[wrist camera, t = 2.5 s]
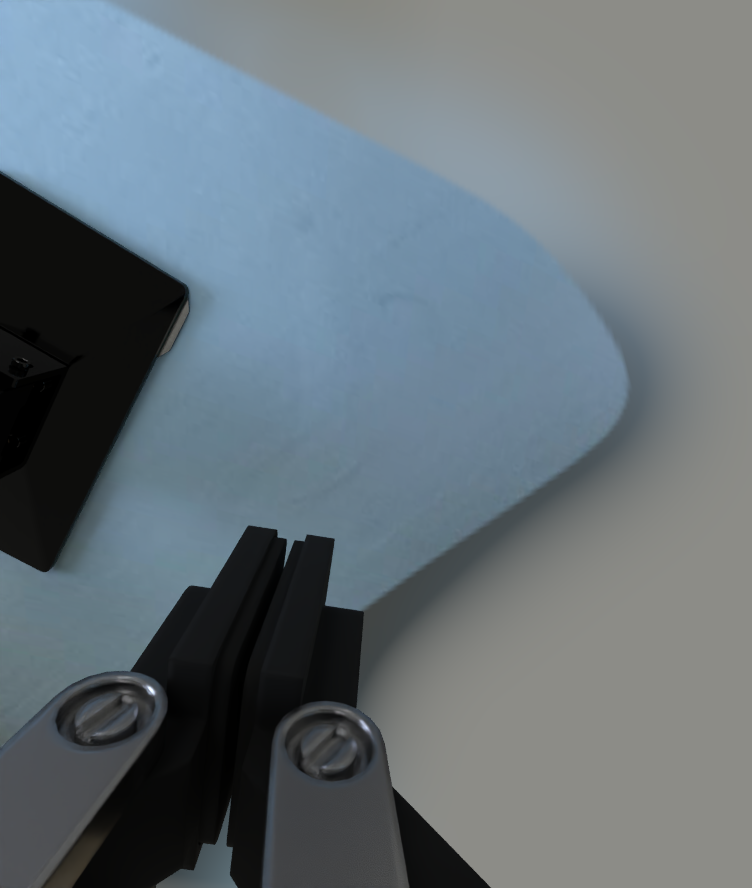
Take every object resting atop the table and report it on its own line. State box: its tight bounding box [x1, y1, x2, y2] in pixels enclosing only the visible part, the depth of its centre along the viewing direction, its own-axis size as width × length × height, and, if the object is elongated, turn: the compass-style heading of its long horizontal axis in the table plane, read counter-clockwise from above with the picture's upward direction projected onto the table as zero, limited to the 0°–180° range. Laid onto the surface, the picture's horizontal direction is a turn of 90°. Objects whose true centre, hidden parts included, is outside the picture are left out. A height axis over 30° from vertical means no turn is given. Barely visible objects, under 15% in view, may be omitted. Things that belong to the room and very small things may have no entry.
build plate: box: [0, 171, 189, 572], centre depth 17 cm, size 12×7×5 cm, turn 148°
